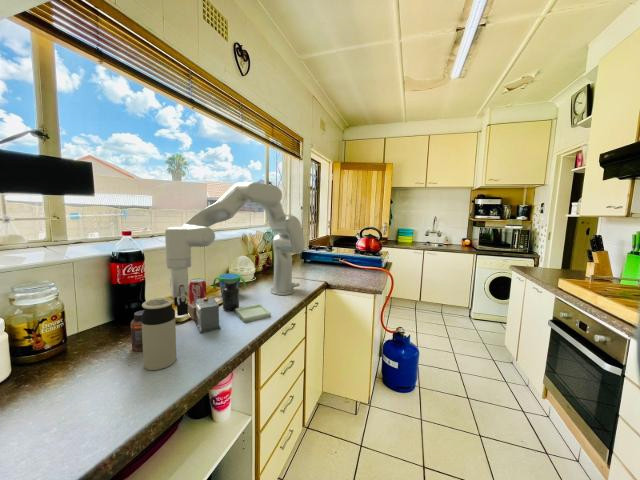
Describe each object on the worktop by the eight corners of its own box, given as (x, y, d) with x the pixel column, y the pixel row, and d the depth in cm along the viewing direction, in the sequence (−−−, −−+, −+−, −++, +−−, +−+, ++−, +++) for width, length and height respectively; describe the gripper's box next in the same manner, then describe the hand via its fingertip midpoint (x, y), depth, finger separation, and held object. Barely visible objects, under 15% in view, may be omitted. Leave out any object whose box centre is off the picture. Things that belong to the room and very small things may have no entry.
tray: (260, 307, 116) (260, 303, 116) (270, 316, 107) (270, 312, 107) (235, 312, 110) (235, 308, 110) (243, 322, 101) (243, 318, 100)
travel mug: (158, 374, 69) (156, 309, 66) (136, 367, 71) (133, 305, 69) (182, 357, 76) (181, 299, 74) (161, 352, 79) (159, 295, 76)
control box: (214, 317, 104) (213, 294, 103) (220, 328, 95) (220, 303, 94) (194, 321, 100) (194, 297, 99) (200, 333, 91) (199, 306, 90)
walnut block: (200, 313, 108) (200, 301, 107) (206, 316, 105) (206, 304, 104) (188, 316, 104) (187, 304, 104) (193, 320, 101) (193, 308, 100)
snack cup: (248, 293, 134) (248, 274, 133) (240, 300, 124) (240, 279, 123) (219, 291, 135) (219, 272, 134) (209, 298, 125) (209, 277, 124)
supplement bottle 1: (157, 347, 81) (155, 312, 80) (134, 354, 77) (132, 318, 76) (151, 339, 85) (150, 307, 84) (129, 346, 81) (128, 312, 80)
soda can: (209, 305, 116) (209, 279, 114) (195, 310, 110) (194, 283, 108) (200, 302, 119) (200, 277, 118) (185, 306, 113) (184, 280, 112)
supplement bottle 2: (230, 304, 118) (229, 279, 117) (242, 306, 116) (242, 281, 114) (219, 309, 112) (219, 282, 110) (232, 312, 110) (232, 285, 108)
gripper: (164, 258, 94) (166, 303, 97) (168, 269, 80) (171, 321, 82) (187, 257, 98) (189, 299, 101) (195, 267, 84) (196, 316, 87)
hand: (181, 309), depth 92 cm, fingers open, 9 cm apart
